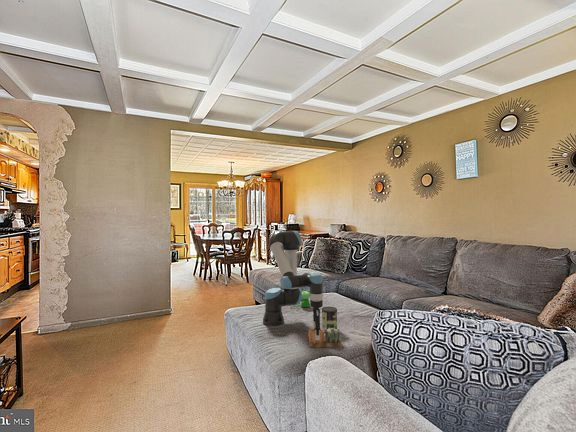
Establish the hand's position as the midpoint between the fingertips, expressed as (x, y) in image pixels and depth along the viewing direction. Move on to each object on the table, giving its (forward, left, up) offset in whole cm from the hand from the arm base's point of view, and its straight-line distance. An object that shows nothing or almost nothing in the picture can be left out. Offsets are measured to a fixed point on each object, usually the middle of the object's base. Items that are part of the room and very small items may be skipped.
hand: (316, 336), depth 182 cm
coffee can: (+11, +19, -4) cm, 22 cm away
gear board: (+5, 0, -4) cm, 6 cm away
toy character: (-7, +68, -4) cm, 68 cm away
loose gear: (0, 0, -3) cm, 3 cm away
